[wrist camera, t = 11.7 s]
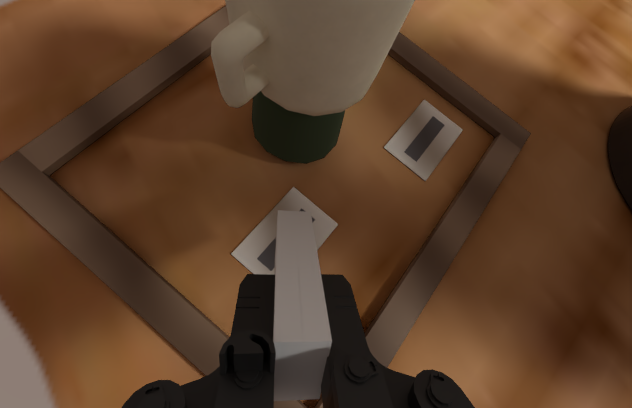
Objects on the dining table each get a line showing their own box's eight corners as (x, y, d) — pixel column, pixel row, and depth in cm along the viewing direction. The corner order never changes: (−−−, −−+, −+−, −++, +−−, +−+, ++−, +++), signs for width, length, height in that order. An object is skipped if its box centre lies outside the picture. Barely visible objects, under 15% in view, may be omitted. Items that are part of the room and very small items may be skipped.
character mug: (306, 57, 23) (349, -213, 10) (375, 112, 22) (505, -101, 10) (204, 146, 19) (91, -97, 7) (283, 213, 19) (309, 79, 7)
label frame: (298, -39, 26) (299, -46, 25) (524, 137, 24) (530, 133, 23) (-6, 177, 17) (-16, 173, 16) (317, 471, 15) (318, 478, 15)
